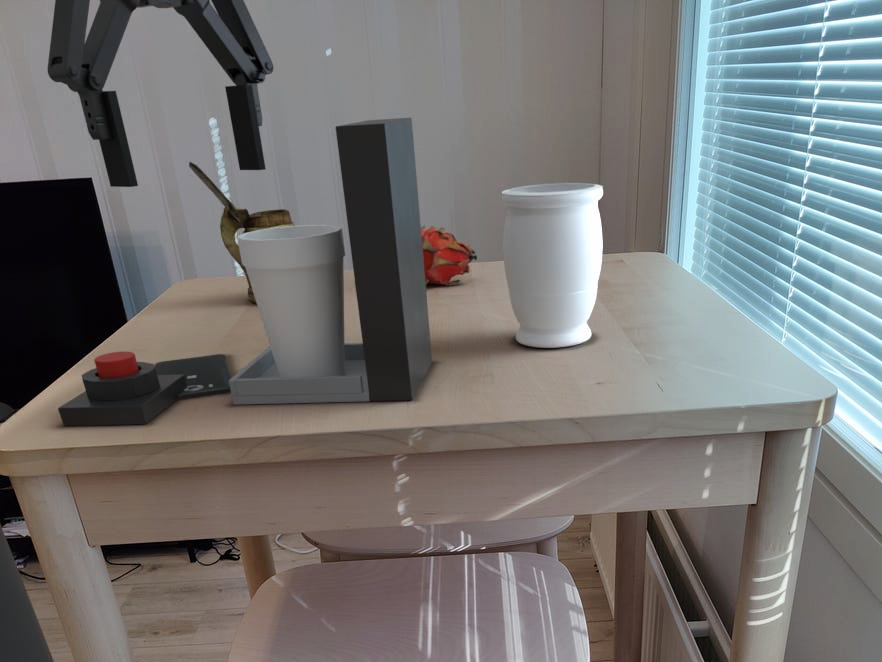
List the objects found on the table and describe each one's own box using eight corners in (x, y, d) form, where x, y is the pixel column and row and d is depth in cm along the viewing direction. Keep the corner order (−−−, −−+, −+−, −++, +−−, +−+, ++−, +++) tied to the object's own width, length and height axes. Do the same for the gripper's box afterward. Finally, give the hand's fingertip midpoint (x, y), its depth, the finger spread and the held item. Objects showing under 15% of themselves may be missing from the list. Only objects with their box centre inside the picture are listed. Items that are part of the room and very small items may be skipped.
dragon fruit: (395, 295, 129) (473, 305, 128) (383, 268, 121) (467, 279, 120) (405, 240, 129) (483, 250, 128) (394, 209, 121) (478, 220, 120)
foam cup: (371, 378, 83) (353, 231, 76) (277, 395, 80) (249, 244, 73) (343, 357, 91) (325, 221, 84) (256, 372, 88) (229, 232, 81)
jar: (529, 325, 101) (526, 182, 93) (613, 330, 97) (617, 180, 89) (490, 348, 93) (483, 194, 85) (580, 354, 89) (581, 193, 81)
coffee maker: (233, 404, 81) (176, 136, 69) (273, 367, 92) (230, 128, 80) (412, 400, 79) (384, 123, 67) (432, 362, 90) (411, 117, 78)
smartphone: (155, 406, 84) (153, 398, 83) (157, 369, 96) (155, 361, 95) (234, 395, 85) (233, 387, 85) (226, 359, 98) (224, 352, 97)
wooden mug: (214, 301, 125) (185, 160, 116) (306, 289, 129) (285, 151, 119) (222, 312, 118) (190, 163, 108) (318, 299, 122) (297, 154, 112)
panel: (63, 426, 79) (50, 388, 77) (113, 393, 87) (103, 358, 85) (146, 424, 78) (135, 385, 76) (188, 391, 86) (180, 355, 84)
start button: (92, 381, 79) (86, 362, 78) (110, 370, 82) (105, 351, 82) (129, 380, 79) (123, 361, 78) (145, 369, 82) (141, 350, 81)
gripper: (226, -121, 73) (271, 163, 85) (-72, -168, 57) (34, 193, 68) (287, -137, 69) (325, 163, 81) (-15, -192, 53) (88, 195, 64)
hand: (192, 178), depth 74 cm, fingers open, 13 cm apart
